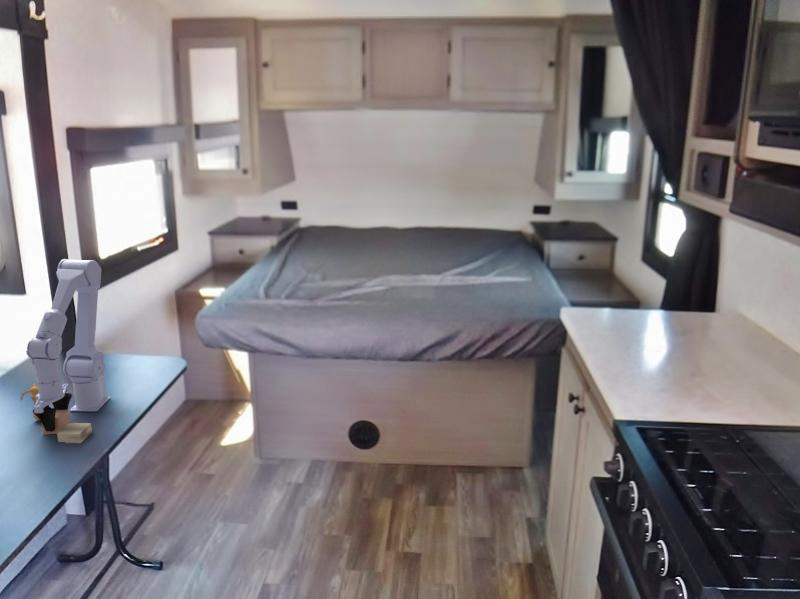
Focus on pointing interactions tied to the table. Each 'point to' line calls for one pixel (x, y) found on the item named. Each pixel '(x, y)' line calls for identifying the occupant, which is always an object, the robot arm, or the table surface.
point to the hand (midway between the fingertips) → (56, 425)
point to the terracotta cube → (59, 421)
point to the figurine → (34, 392)
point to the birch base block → (74, 432)
